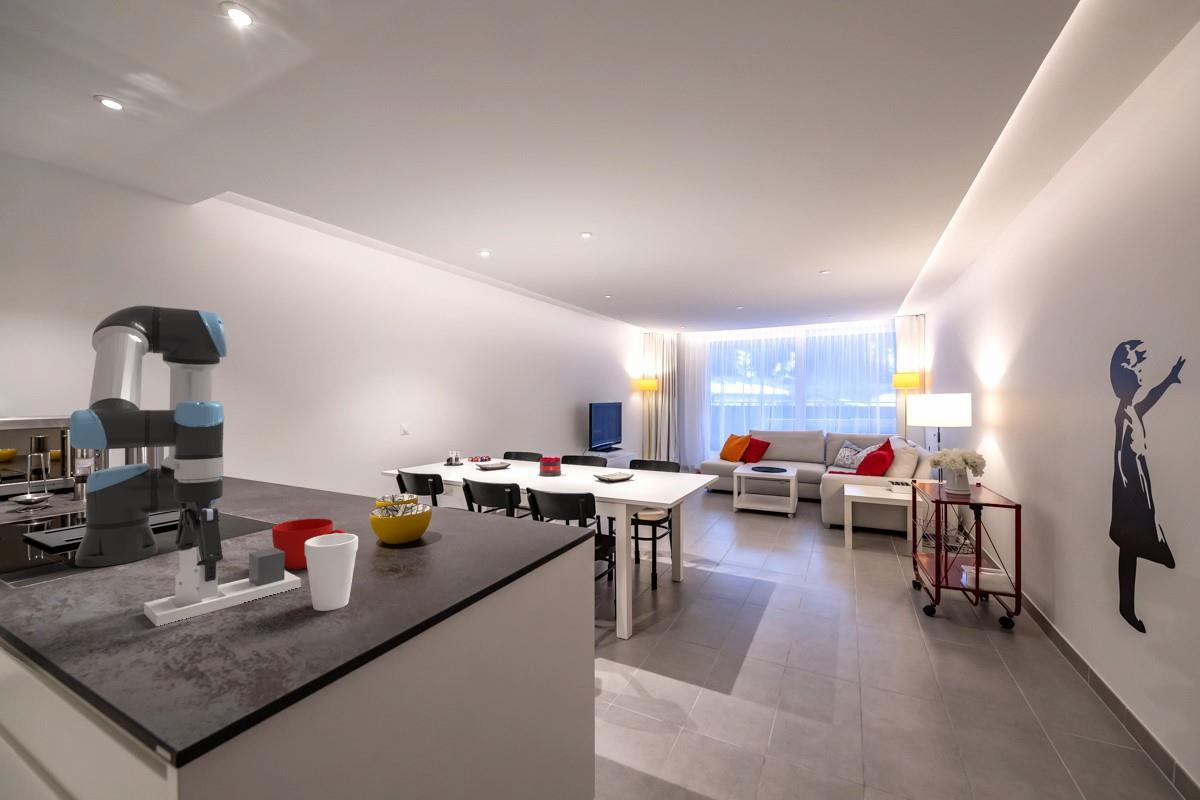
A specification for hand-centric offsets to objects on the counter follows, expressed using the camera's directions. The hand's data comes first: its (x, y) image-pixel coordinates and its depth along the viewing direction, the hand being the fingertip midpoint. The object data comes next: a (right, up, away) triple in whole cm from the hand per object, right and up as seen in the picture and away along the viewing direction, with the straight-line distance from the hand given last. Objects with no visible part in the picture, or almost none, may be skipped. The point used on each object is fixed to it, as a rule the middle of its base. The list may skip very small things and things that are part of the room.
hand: (197, 589), depth 98 cm
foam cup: (+25, -4, +2) cm, 25 cm away
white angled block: (0, -4, 0) cm, 4 cm away
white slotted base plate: (+3, -4, +4) cm, 6 cm away
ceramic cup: (+7, -4, +26) cm, 27 cm away
